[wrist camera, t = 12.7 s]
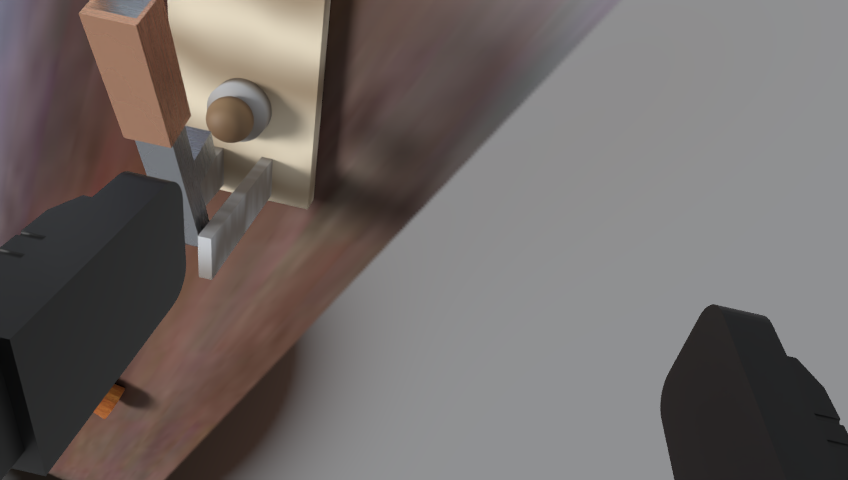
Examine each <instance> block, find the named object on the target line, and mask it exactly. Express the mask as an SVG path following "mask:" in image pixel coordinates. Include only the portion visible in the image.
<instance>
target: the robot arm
mask: <svg viewBox="0 0 848 480" xmlns="http://www.w3.org/2000/svg"><path fill="white" fill-rule="evenodd" d="M185 271H186V255H185V233H184V212H183V195H182V190H181V188H180V186H179V184H178V183H176V182H173V181H169V180H164V179H160V178H155V177H151V176H146V175H142V174H138V173H133V172H129V171H126V172H122V173H121V174H119V175H118V176H117V177H115V178H114V179H113V180H112V181H111V182H110V183H108V184H107V185H106V186H105V187H104V188H102V189H101V190H100V191H99V192H98V193H97V194H95V195H94V196H93V197H88V196H84V195H83V196H80V197H78V198H75V199H73V200H70V201H68V202H65V203H63V204H61V205H58V206H56V207H53V208H51V209H48V210H47V211H45V212H44V213H43V214H42V215H40V216H39V217H38V218H37V219H35V220H34V221H33V222H32V223H30V224H29V225H28V226H27V227H25V228H24V229H23V230H22V231H21V235H20V236H19V235H15V236H14V237H13V238H12V239H10V240H9V241H8V242H7V243H5V244H4V245H3V246H1V247H0V480H2V478H3V477H4V476H5V475H6V474H7V472H8V471H9V470H10V469H11V468H13V469H18V470H21V471H26V472H30V473H35V474H39V475H43V476H46V475H47V474H48V472H49V471H50V470H51V468H52V467H53V465H54V464H55V463H56V461H57V460H58V459H59V457H60V456H61V455H62V453H63V452H64V451H65V449H66V448H67V447H68V445H69V444H70V443H71V441H72V440H73V439H74V437H75V436H76V435H77V433H78V432H79V431H80V429H81V428H82V427H83V425H84V424H85V423H86V421H87V420H88V419H89V417H90V416H91V415H92V413H93V412H94V410H95V409H96V408H97V406H98V405H99V404H100V402H101V401H102V400H103V398H104V397H105V396H106V394H107V393H108V392H109V390H110V389H111V388H112V386H113V385H114V384H115V382H116V381H117V380H118V378H119V377H120V376H121V374H122V373H123V372H124V370H125V369H126V368H127V366H128V365H129V364H130V362H131V361H132V360H133V358H134V357H135V355H136V354H137V353H138V351H139V350H140V349H141V347H142V346H143V345H144V343H145V342H146V341H147V339H148V338H149V337H150V335H151V334H152V333H153V331H154V330H155V329H156V327H157V326H158V325H159V323H160V322H161V321H162V319H163V318H164V317H165V315H166V314H167V313H168V311H169V310H170V309H171V307H172V306H173V304H174V303H175V301H176V300H177V298H178V296H179V293H180V291H181V288H182V285H183V282H184V277H185ZM661 418H662V423H663V428H664V433H665V437H666V442H667V447H668V452H669V456H670V461H671V466H672V470H673V475H674V479H675V480H848V433H847V431H846V429H845V427H844V426H843V425H840V424H839V421H840V418H839V416H838V414H837V412H836V410H835V408H834V406H833V404H832V402H831V400H830V398H829V396H828V394H827V392H826V390H825V388H824V387H823V386H822V385H821V384H820V383H819V382H818V381H817V380H816V379H815V378H814V376H812V374H811V373H810V372H809V371H808V370H807V369H806V368H805V367H804V366H803V365H802V364H801V363H800V362H799V360H798V359H796V358H793V357H789V356H787V355H786V353H785V351H784V349H783V347H782V344H781V342H780V340H779V338H778V336H777V334H776V332H775V329H774V327H773V325H772V323H771V322H770V320H769V319H768V318H767V317H765V316H763V315H759V314H754V313H750V312H745V311H741V310H736V309H731V308H727V307H723V306H718V305H714V304H713V305H710V306H708V307H707V308H705V309H704V311H703V312H702V313H701V315H700V317H699V319H698V320H697V322H696V324H695V326H694V328H693V329H692V331H691V333H690V335H689V337H688V339H687V340H686V342H685V344H684V346H683V348H682V349H681V351H680V353H679V355H678V357H677V359H676V360H675V362H674V364H673V366H672V368H671V370H670V371H669V373H668V375H667V377H666V380H665V383H664V386H663V390H662V395H661Z"/></svg>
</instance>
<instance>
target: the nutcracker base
mask: <svg viewBox="0 0 848 480" xmlns="http://www.w3.org/2000/svg"><path fill="white" fill-rule="evenodd" d="M167 1H168V20H169V25H170V29H171V33H172V37H173V41H174V46H175V50H176V54H177V58H178V62H179V67H180V71H181V75H182V79H183V83H184V88H185V92H186V96H187V100H188V104H189V108H190V113H191V117H190V118H189V120H188V122H187V123H186V125H185V126H189V127H194V128H198V129H203V130H207V131H211V133H212V138H213V143H214V147H215V152H216V157H215V159H214V161H213V163H212V165H211V166H210V168H209V170H208V172H207V174H206V176H205V177H204V179H203V181H202V183H201V185H200V187H201V191H202V195H203V198H204V202H205V206H206V205H207V204H208V203H209V201H210V200H211V199H212V198H213V197H214V195H215V194H216V193H217V192H218V191H219V190H224V191H229V192H233V193H232V194H231V195H230V197H229V198H228V199H227V200H226V202H225V203H224V204H223V205H222V207H221V208H220V209H219V210H218V211H217V213H216V214H215V215H214V216H213V218H212V219H211V220H210V221H209V223H208V224H207V225H206V226H205V228H204V229H203V230H202V231H201V232H200V234H199V235H198V262H199V277H202V278H206V279H211V280H212V279H213V277H214V276H215V275H216V273H217V272H218V270H219V269H220V268H221V266H222V265H223V263H224V262H225V260H226V259H227V258H228V256H229V255H230V253H231V252H232V250H233V249H234V248H235V246H236V245H237V243H238V242H239V240H240V239H241V238H242V236H243V235H244V233H245V232H246V230H247V229H248V228H249V226H250V225H251V223H252V222H253V221H254V219H255V218H256V216H257V215H258V213H259V212H260V211H261V209H262V208H263V206H264V205H265V203H266V202H267V201H268V200H269V201H273V202H278V203H282V204H287V205H291V206H295V207H300V208H304V209H308V208H309V206H310V205H311V203H312V201H313V199H314V189H315V177H316V165H317V154H318V142H319V131H320V119H321V108H322V96H323V85H324V73H325V61H326V50H327V38H328V27H329V15H330V4H331V0H167Z"/></svg>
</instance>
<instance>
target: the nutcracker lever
mask: <svg viewBox="0 0 848 480" xmlns="http://www.w3.org/2000/svg"><path fill="white" fill-rule="evenodd" d="M79 16H80V18H81V21H82V24H83V27H84V29H85V32H86V35H87V38H88V40H89V43H90V46H91V49H92V51H93V54H94V57H95V60H96V62H97V65H98V68H99V71H100V73H101V76H102V79H103V82H104V84H105V87H106V90H107V92H108V95H109V98H110V101H111V103H112V106H113V109H114V112H115V114H116V117H117V120H118V123H119V125H120V128H121V131H122V134H123V136H124V138H128V139H132V140H135V142H136V145H137V148H138V151H139V153H140V156H141V159H142V162H143V165H144V168H145V171H146V174H147V176H151V177H155V178H160V179H164V180H169V181H173V182H176V183H178V184H179V186H180V188H181V190H182V195H183V212H184V233H185V244H187V245H192V246H196V247H198V235H199V234H200V232H201V231H202V230H203V229H204V228H205V226H206V225H207V224H208V223H209V218H208V214H207V210H206V206H205V202H204V198H203V195H202V191H201V187H200V185H201V183H202V181H203V179H204V177H205V176H206V174H207V172H208V170H209V168H210V166H211V165H212V163H213V161H214V159H215V157H216V152H215V147H214V143H213V138H212V133H211V131H207V130H203V129H198V128H194V127H189V126H185V125H186V123H187V122H188V120H189V118H190V117H191V113H190V108H189V104H188V100H187V96H186V92H185V88H184V83H183V79H182V75H181V71H180V67H179V62H178V58H177V54H176V50H175V46H174V41H173V37H172V33H171V29H170V25H169V21H168V16H167V12H166V8H165V4H164V0H90V1H89V2H88V3H87V5H86V6H85V7H84V8H83V9H82V10H81V11H80V12H79Z"/></svg>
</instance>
